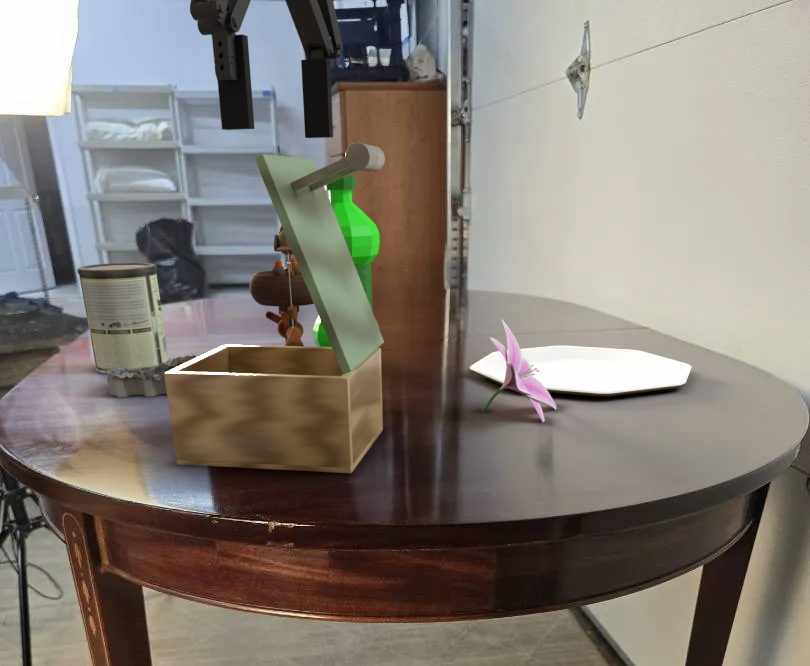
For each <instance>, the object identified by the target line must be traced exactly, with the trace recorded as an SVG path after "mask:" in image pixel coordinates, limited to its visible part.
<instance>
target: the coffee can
mask: <svg viewBox="0 0 810 666" xmlns="http://www.w3.org/2000/svg"><path fill="white" fill-rule="evenodd" d="M157 267H158V266H157V264H155V263H150V262H115V263H114V262H113V263H100V264H89V265H84V266H80V267H77V268H76V270H77V274H78V277H79V281H80V287H81V293H82V298H83V304H84V308H85V313H86V319H87V325H88V331H89V335H90V336H89V337H90V341H91V347H92V353H93V358H94V363H95V368H96V369H95V371H97V372H98V373H102V374H105V372H107V370H110V369H113V367H116V368H117V367H118V368H125V367H126V369H127V371H129V370H130V369H135V368H137V367H138V368H140V367H145V366H150V367H154V366H159V365H160V364H161V363H170V360H169V353H168V352H169V351H168V344H167V337H166V332H165V331H166V330H165V324H164V317H163V310H162V303H161V296H160V295H161V294H160V291H159V290H160V289H159V283H158V276H157V270H158V268H157ZM104 371H105V372H104Z"/></svg>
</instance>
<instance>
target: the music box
mask: <svg viewBox="0 0 810 666" xmlns="http://www.w3.org/2000/svg"><path fill="white" fill-rule="evenodd" d="M277 233H278V234H274V237H273V251H275V252H277V253H280V252H281V254H283V255H285V256H286V267H284V266H283V262H282V261H280V260H278V259H277V260H275V261H274V266H273V267H272V269H270V270H262V271H258V272H254V273H253V275H252V276H251V278H250V281H249V293H250V295H251V297H252V299H253V300H254V301H255V302H256V303H257V304H259V305H261V306H264V307H265V306H266V307H278V314H276V313H275V312H272V311H271V310H265V318H266V319H267V320H270V321H272V322H274V323H275V324H277V328H276V329H277V330H276V331H277V332H278V335H279V336H280V337H281V338H283V339H284V338H285V339H284V341H285V344H284V346H305V344H304V343H303V341H302V337H303V334H304V326H303V325H302V324H301V323H300V322H299V321H298V314H299V312H300V307H303V306H310V305H314V303H313V300H312V298H311V295H310V293H309V291H308V288H307V286H306V283H305V281H304V278H303V276H302V274H301V271H300V269H299V266H298V264H297V261H296V259H295V257H292V255H294V254H293V252H292V249H291V247H290V244H289V242H288V240H287V237H286V235H285V232H284V230H283V227H282V225H281V226H280V227H279V229H278V231H277Z"/></svg>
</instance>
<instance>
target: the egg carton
mask: <svg viewBox="0 0 810 666" xmlns="http://www.w3.org/2000/svg"><path fill="white" fill-rule="evenodd" d="M195 358H197V356H196V355H195V354H194V355H185V356H179V357H176V358H174V357H173V358H172V360H171V363H170V362H169V363H161V364H160V365H159V366H154V367H150V366H145V367H140V368H138V367H137V368H135V369H130V370H129V371H127V369H126V367H125V368H118V367H117V368H116V367H113V369H110V370H107V372H105V371H104V372H105V373H104V374H105V375H107V384H108V390H109V396H114V397H115V396H116V398H126V397H129V396H137V395H139V396H140V395H141V396H144V397H156V396H158V395H167V390H166V383H165V376H164V373H165V372H168V371H170V370H172V369H174V368H176V367H178V366H180V365H182V364H184V363H187V362H189V361H191V360H193V359H195Z"/></svg>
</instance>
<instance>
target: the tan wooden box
mask: <svg viewBox="0 0 810 666" xmlns="http://www.w3.org/2000/svg"><path fill="white" fill-rule="evenodd" d="M164 376H165V383H166V390H167V394H166V397H167V404H168V409H169V417H170V425H171V432H172V439H173V445H174V453H175V459H176V465H183V466H200V467H201V466H203V467H221V468H222V467H224V468H243V469H260V470H261V469H262V470H281V471H282V470H283V471H302V472H303V471H304V472H322V473H337V474H338V473H340V474H341V473H342V474H352V473H353V472H354V470H355V469H356V467H357V466H358V465H359V463H360V462H361V461H362V460H363V458H364V457H365V456H366V454H367V453H368V451H369V450H370V448H371V447H372V446H373V444H374V443H375V442H376V440H377V439H378V438H379V436H380V435H381V433H382V432H383V431H384V422H383V417H384V416H383V383H382V381H383V379H382V378H383V377H382V347H378V348H377V349H376V350H375V351H374V352H372V353H371V354H370V355H369V356H368V357H367V358H366V359H365V360H363V361H362V362H361V363H360V364H359V365H358V366H357V367H356V368H354V369H353V370H352V371H351V372H348V373H346V374H343V373H342V371H341V368H340V366H339V364H338V361H337V359H336V356H335V354H334V351H333V349H332V347H318V346H307V345H304V346H285V345H262V344H261V345H259V344H258V345H256V344H255V345H254V344H222V345H220V346H218V347H217V348H214V349H212V350H210V351H208V352H206V353H204V354H201V355H200V356H196V358H195V359H193V360H191V361H189V362H187V363H184V364H182V365H180V366H178V367H176V368H174V369H172V370H170V371H168V372H165V373H164Z"/></svg>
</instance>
